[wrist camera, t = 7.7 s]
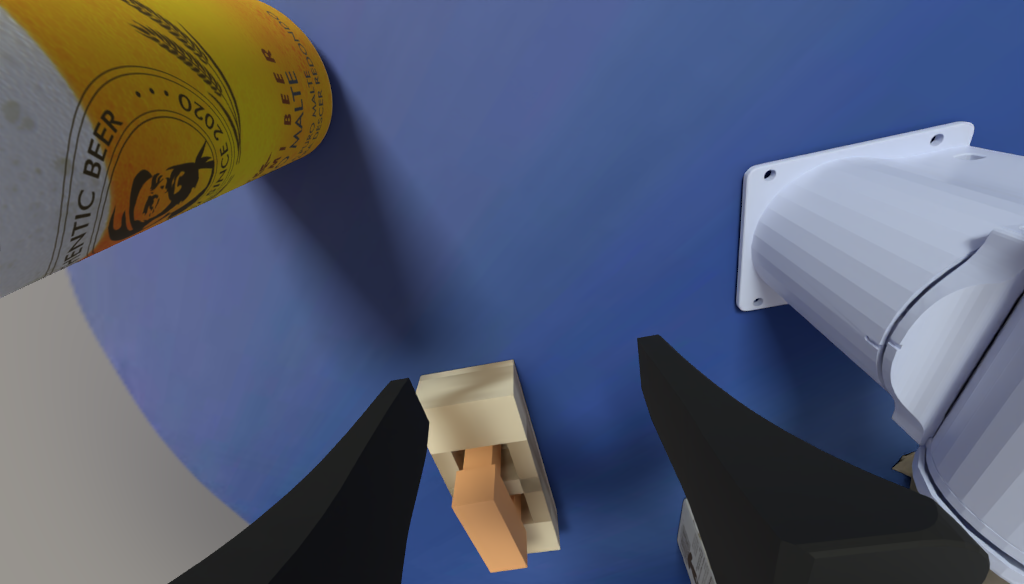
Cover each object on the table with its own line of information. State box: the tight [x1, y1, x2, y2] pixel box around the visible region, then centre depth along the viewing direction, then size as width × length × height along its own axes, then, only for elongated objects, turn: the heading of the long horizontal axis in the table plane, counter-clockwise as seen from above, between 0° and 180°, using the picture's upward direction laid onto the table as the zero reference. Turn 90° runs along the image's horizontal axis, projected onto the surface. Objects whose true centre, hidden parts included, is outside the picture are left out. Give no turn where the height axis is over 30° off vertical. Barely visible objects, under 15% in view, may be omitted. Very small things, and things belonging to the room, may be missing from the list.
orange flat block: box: [452, 444, 527, 572], centre depth 26 cm, size 2×7×6 cm, turn 16°
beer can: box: [0, 0, 333, 298], centre depth 11 cm, size 6×6×15 cm
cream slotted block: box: [416, 360, 560, 553], centre depth 28 cm, size 6×16×3 cm, turn 13°
